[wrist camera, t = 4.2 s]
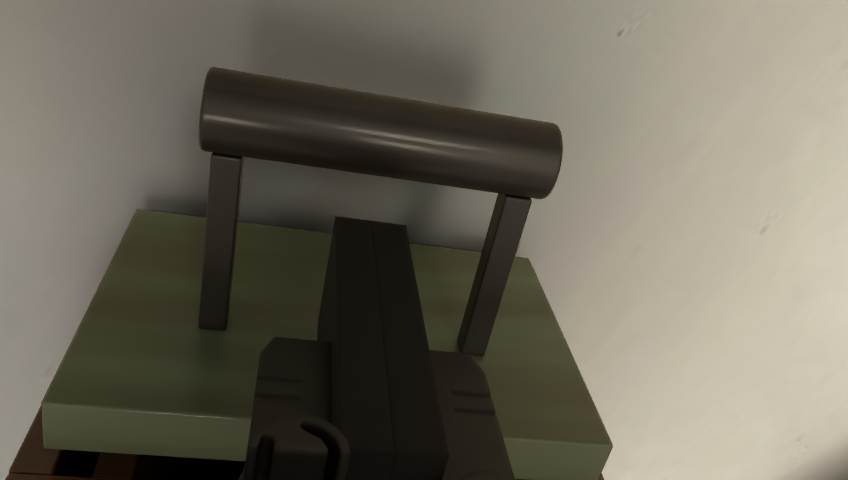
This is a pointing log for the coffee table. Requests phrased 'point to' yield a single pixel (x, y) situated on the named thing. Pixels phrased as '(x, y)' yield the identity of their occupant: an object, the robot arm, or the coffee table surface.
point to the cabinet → (54, 460)
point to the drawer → (315, 288)
